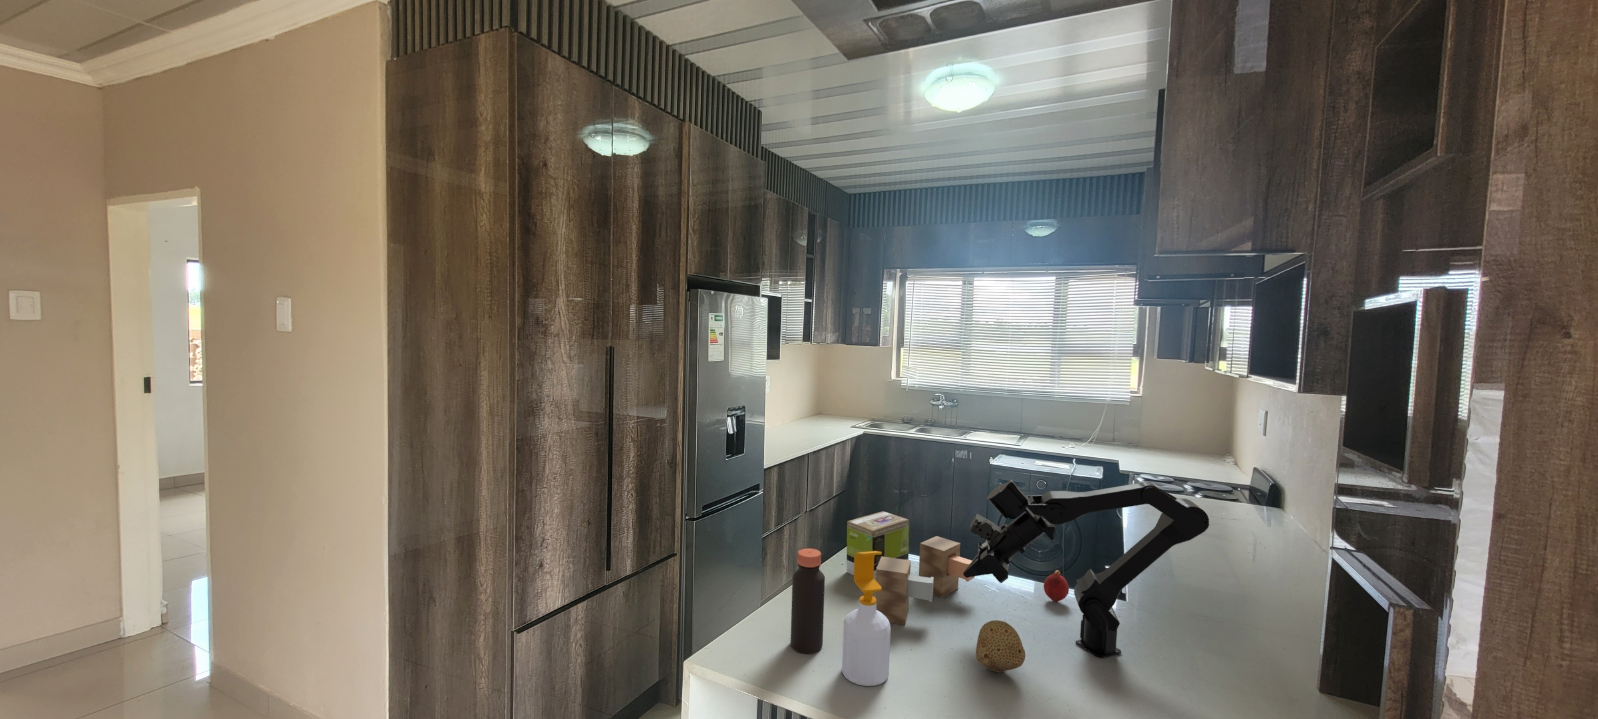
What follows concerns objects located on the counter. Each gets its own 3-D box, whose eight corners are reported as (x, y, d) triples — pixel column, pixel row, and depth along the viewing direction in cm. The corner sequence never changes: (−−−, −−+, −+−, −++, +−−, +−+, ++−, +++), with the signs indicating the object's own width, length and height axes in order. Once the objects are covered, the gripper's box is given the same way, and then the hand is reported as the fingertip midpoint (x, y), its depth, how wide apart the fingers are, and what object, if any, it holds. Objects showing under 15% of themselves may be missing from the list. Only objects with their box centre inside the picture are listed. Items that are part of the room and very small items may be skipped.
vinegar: (825, 640, 128) (828, 548, 127) (818, 656, 122) (821, 560, 121) (795, 634, 130) (798, 544, 129) (786, 650, 124) (789, 556, 123)
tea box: (882, 559, 174) (884, 509, 173) (909, 571, 166) (911, 519, 165) (844, 572, 164) (846, 519, 163) (871, 585, 157) (873, 529, 156)
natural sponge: (1032, 673, 118) (1034, 624, 118) (1010, 691, 112) (1012, 640, 111) (989, 654, 125) (992, 607, 124) (967, 670, 119) (969, 621, 118)
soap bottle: (851, 690, 111) (856, 560, 110) (835, 663, 120) (839, 542, 118) (896, 683, 113) (901, 557, 112) (877, 657, 122) (882, 539, 121)
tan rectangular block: (974, 577, 150) (975, 560, 150) (967, 581, 148) (968, 564, 148) (947, 568, 156) (948, 551, 155) (940, 572, 153) (941, 555, 153)
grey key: (932, 595, 140) (933, 577, 139) (931, 601, 136) (932, 582, 136) (900, 590, 142) (900, 572, 141) (898, 596, 138) (899, 578, 138)
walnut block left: (908, 609, 144) (910, 560, 143) (905, 625, 136) (907, 573, 135) (879, 604, 146) (881, 556, 145) (874, 619, 138) (876, 569, 137)
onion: (1064, 609, 146) (1066, 577, 145) (1040, 602, 149) (1041, 571, 149) (1070, 601, 151) (1072, 570, 150) (1046, 594, 154) (1048, 564, 154)
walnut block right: (958, 588, 156) (960, 543, 155) (941, 597, 150) (944, 550, 150) (934, 579, 161) (936, 535, 160) (918, 588, 155) (920, 543, 155)
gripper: (992, 494, 142) (942, 533, 146) (994, 518, 124) (937, 562, 128) (1025, 531, 140) (974, 570, 144) (1033, 561, 122) (973, 604, 126)
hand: (964, 575), depth 136 cm, fingers closed
